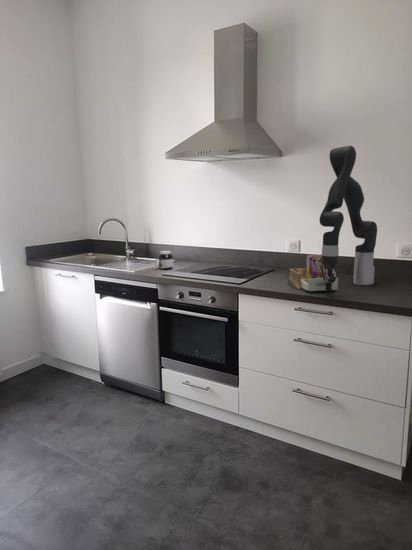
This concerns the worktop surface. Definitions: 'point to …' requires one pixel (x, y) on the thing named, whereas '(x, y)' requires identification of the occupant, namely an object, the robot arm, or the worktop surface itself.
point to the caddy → (297, 277)
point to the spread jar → (164, 261)
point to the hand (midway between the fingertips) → (328, 290)
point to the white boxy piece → (317, 284)
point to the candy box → (314, 267)
